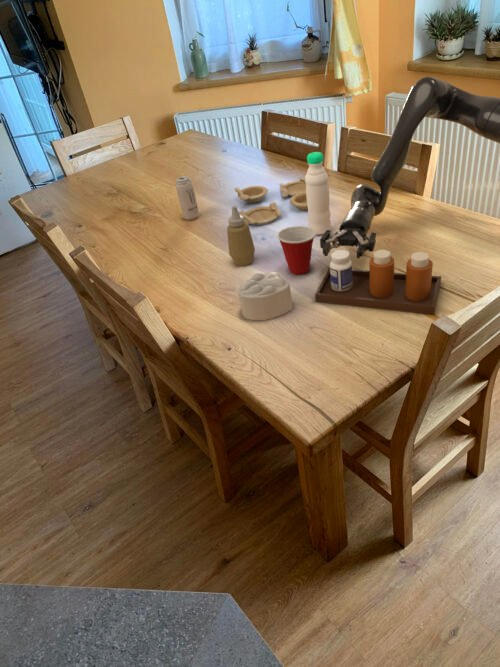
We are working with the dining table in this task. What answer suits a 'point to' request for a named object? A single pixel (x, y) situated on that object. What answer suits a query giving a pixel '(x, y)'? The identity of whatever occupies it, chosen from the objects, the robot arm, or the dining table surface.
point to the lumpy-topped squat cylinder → (265, 296)
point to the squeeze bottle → (240, 239)
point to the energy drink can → (187, 198)
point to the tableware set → (271, 212)
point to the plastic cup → (297, 247)
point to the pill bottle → (341, 271)
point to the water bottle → (317, 194)
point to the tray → (364, 298)
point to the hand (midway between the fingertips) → (341, 254)
